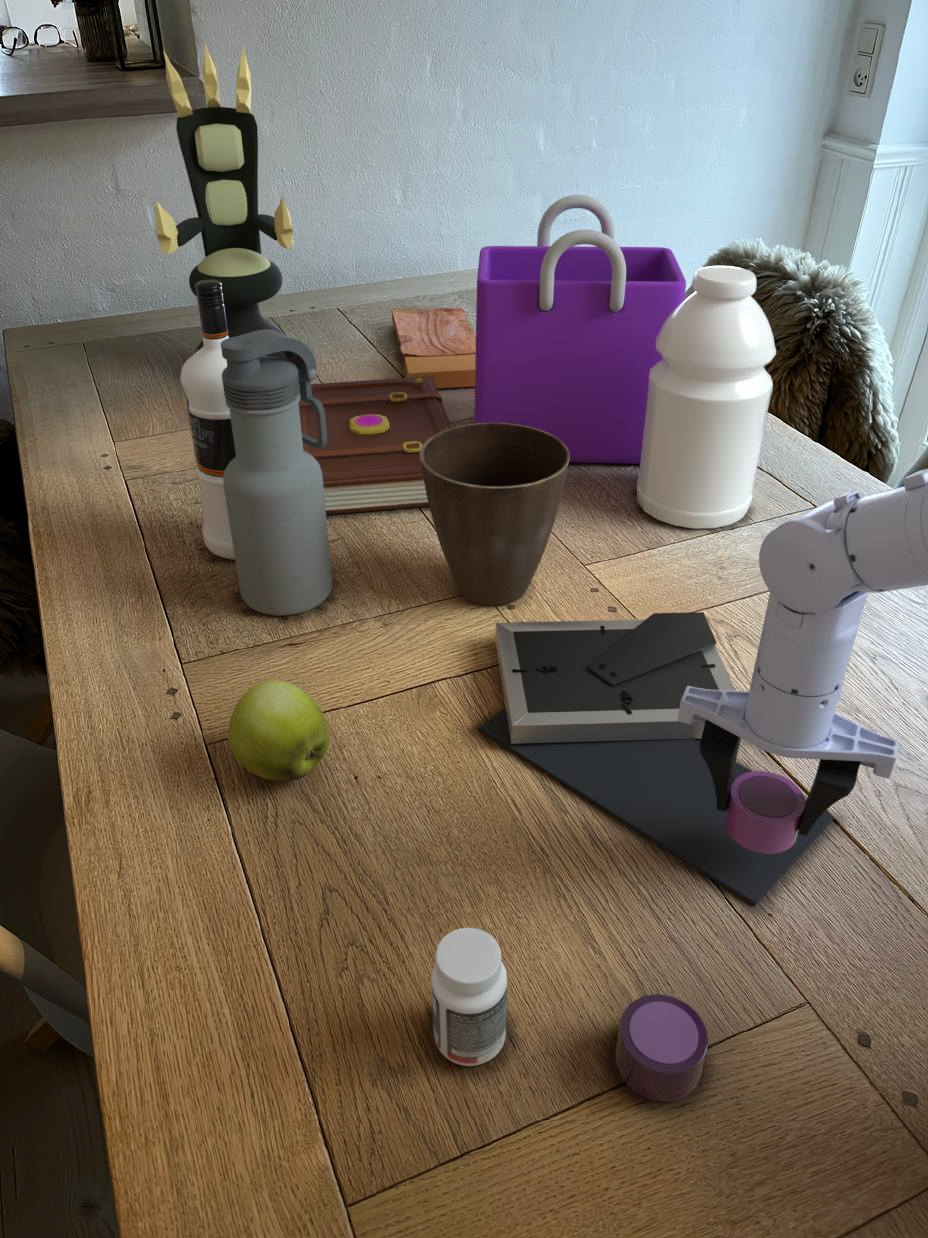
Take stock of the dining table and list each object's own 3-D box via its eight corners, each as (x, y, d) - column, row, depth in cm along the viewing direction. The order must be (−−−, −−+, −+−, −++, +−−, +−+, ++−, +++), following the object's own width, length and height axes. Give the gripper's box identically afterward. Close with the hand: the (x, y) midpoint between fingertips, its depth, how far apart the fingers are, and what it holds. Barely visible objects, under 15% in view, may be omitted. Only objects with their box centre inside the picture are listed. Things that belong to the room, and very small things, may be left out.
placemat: (833, 819, 81) (834, 816, 81) (755, 906, 74) (756, 903, 73) (564, 670, 97) (564, 667, 96) (478, 730, 90) (478, 727, 89)
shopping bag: (482, 481, 129) (483, 239, 112) (456, 413, 147) (454, 195, 129) (691, 465, 133) (724, 228, 115) (641, 400, 150) (664, 186, 133)
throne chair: (183, 396, 152) (124, 57, 126) (186, 346, 169) (135, 39, 144) (308, 386, 155) (276, 53, 129) (298, 338, 173) (268, 36, 147)
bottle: (671, 540, 117) (705, 299, 101) (614, 488, 127) (636, 262, 111) (773, 518, 121) (820, 283, 105) (709, 469, 131) (743, 249, 115)
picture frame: (699, 635, 101) (494, 639, 100) (703, 612, 100) (495, 616, 99) (745, 737, 88) (510, 744, 87) (750, 712, 87) (512, 718, 85)
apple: (280, 720, 91) (270, 649, 86) (352, 764, 86) (345, 692, 81) (212, 766, 86) (197, 694, 81) (284, 816, 81) (273, 742, 77)
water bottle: (299, 558, 114) (271, 312, 98) (354, 591, 108) (334, 337, 92) (223, 593, 108) (180, 338, 92) (276, 630, 102) (241, 365, 86)
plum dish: (810, 826, 76) (819, 795, 74) (774, 866, 72) (782, 835, 71) (747, 790, 79) (754, 759, 77) (709, 827, 75) (716, 796, 74)
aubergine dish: (717, 1060, 64) (725, 1030, 62) (669, 1120, 61) (675, 1091, 59) (648, 1008, 67) (653, 978, 65) (598, 1062, 64) (602, 1032, 62)
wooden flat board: (406, 391, 153) (405, 371, 151) (391, 326, 177) (390, 307, 175) (490, 387, 154) (491, 366, 153) (464, 322, 179) (464, 304, 177)
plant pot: (406, 564, 112) (400, 433, 103) (528, 541, 117) (533, 412, 107) (450, 639, 101) (448, 498, 92) (584, 610, 105) (595, 472, 96)
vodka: (281, 562, 113) (247, 295, 96) (198, 564, 113) (149, 296, 95) (289, 521, 120) (260, 267, 103) (212, 523, 120) (169, 268, 103)
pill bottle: (520, 1032, 65) (524, 952, 61) (471, 1083, 63) (471, 1003, 58) (467, 989, 68) (467, 909, 63) (418, 1036, 65) (414, 955, 60)
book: (434, 403, 149) (433, 370, 146) (470, 503, 124) (470, 467, 121) (280, 413, 146) (276, 381, 143) (284, 519, 121) (280, 482, 118)
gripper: (919, 663, 67) (872, 806, 75) (705, 613, 72) (681, 752, 80) (911, 727, 62) (861, 874, 70) (680, 668, 67) (658, 812, 75)
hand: (764, 813), depth 75 cm, fingers closed on plum dish, 5 cm apart
